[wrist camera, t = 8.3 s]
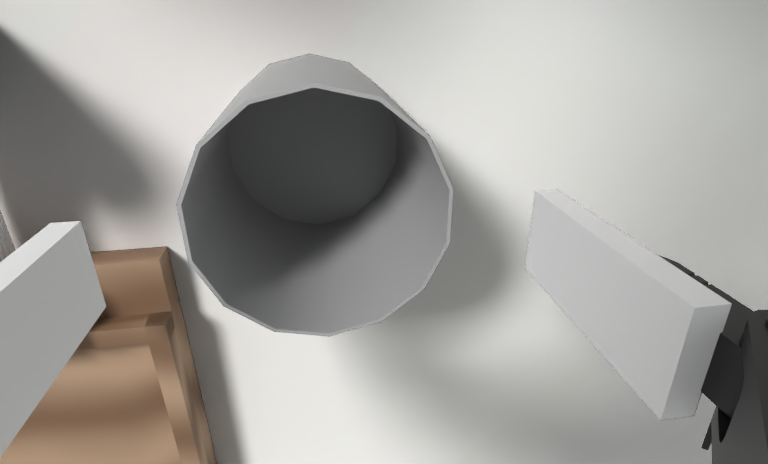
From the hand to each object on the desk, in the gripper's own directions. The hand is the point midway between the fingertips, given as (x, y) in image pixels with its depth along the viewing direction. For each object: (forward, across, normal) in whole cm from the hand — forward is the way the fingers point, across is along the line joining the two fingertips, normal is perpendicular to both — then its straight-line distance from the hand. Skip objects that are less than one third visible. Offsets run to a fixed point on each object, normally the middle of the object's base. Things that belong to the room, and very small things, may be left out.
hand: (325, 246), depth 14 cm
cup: (+11, 0, +1) cm, 11 cm away
